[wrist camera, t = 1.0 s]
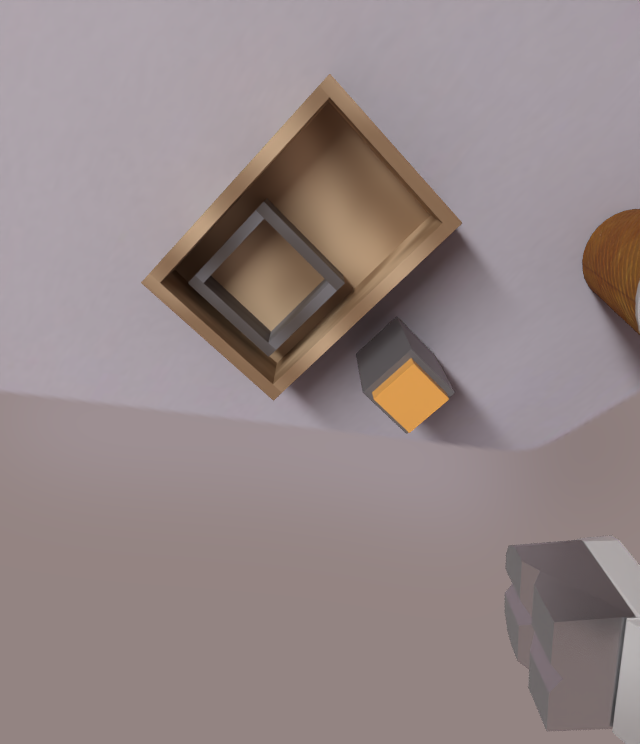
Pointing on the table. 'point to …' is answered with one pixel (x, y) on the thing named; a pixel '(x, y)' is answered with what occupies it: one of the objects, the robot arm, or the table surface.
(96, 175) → the table surface
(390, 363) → the block
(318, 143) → the box
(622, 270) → the disposable coffee cup
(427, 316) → the table surface
